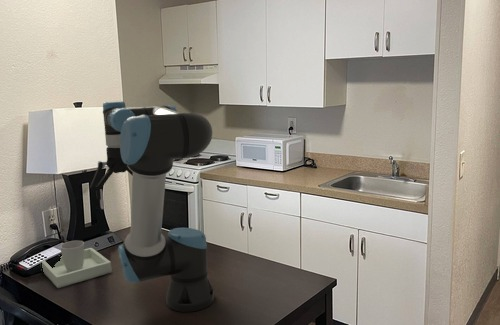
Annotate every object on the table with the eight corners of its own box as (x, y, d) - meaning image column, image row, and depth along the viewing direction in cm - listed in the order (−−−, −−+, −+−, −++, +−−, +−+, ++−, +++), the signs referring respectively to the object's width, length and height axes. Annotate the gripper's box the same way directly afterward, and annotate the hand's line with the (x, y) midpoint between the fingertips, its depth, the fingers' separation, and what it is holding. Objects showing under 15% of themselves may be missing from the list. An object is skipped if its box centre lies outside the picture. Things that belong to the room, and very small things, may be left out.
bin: (111, 272, 168) (111, 262, 167) (57, 288, 156) (56, 277, 155) (92, 257, 183) (91, 247, 182) (41, 270, 171) (40, 260, 170)
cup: (91, 268, 171) (88, 242, 169) (73, 276, 164) (71, 250, 162) (75, 264, 174) (73, 239, 172) (58, 272, 167) (55, 246, 165)
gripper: (150, 142, 168) (153, 198, 171) (78, 148, 157) (83, 208, 160) (155, 144, 161) (159, 202, 165) (80, 150, 150) (86, 213, 154)
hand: (122, 205), depth 162 cm, fingers open, 13 cm apart
